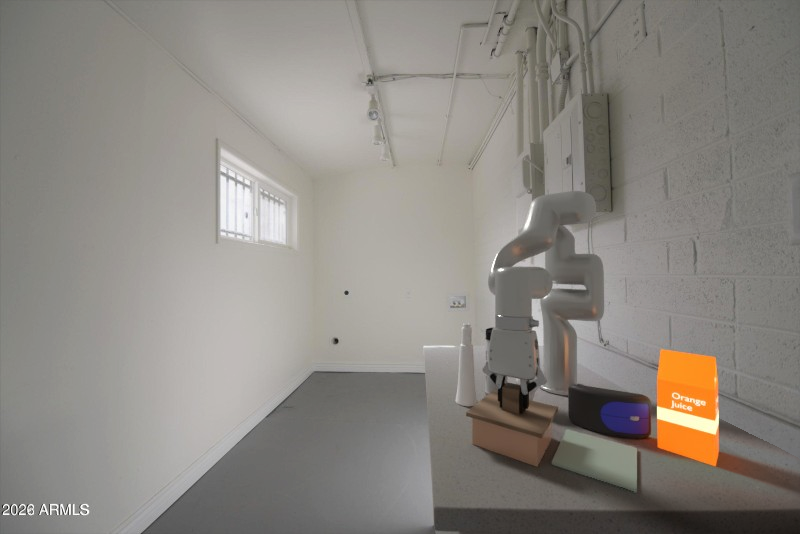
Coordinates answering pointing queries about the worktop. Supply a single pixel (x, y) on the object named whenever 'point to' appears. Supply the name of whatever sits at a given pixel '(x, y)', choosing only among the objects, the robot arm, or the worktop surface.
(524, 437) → the salmon open box
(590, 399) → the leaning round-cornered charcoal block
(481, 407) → the lid
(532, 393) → the lightbulb
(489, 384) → the travel mug
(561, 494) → the worktop surface
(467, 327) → the cosmetic bottle
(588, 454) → the mat
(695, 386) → the orange juice
